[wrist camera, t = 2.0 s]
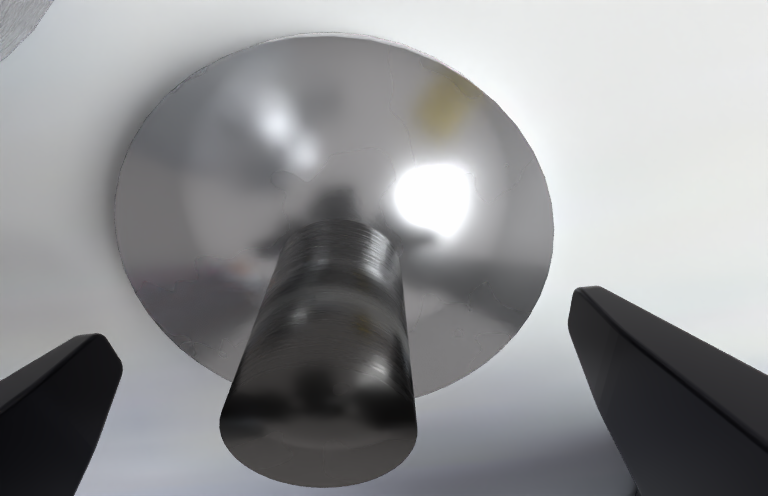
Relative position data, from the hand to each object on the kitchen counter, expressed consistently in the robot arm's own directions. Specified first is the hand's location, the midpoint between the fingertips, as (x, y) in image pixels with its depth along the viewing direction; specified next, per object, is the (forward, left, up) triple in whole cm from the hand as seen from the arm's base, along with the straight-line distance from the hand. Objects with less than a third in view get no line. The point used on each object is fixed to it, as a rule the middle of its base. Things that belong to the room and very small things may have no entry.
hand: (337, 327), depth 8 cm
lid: (0, 0, -3) cm, 3 cm away
